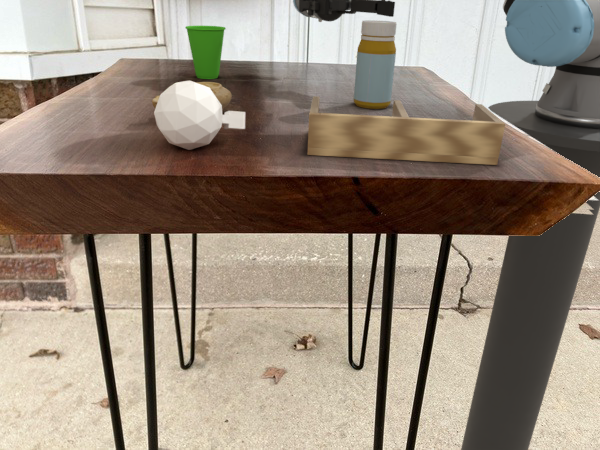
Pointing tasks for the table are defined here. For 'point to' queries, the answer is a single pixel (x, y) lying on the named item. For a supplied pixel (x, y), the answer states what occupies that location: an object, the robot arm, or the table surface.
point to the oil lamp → (217, 89)
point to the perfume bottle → (193, 115)
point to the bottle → (375, 64)
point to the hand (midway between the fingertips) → (360, 8)
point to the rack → (406, 136)
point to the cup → (206, 49)
